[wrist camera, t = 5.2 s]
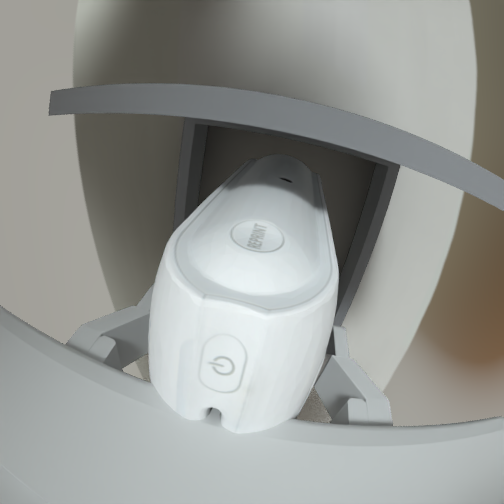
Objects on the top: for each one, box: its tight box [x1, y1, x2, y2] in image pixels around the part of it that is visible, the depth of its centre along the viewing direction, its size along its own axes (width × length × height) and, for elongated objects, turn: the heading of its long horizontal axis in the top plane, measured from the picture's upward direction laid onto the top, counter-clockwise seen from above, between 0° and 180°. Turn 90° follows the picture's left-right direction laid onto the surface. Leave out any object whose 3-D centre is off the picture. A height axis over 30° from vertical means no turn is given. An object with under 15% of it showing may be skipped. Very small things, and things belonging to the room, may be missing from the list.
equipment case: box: [49, 83, 504, 326], centre depth 16 cm, size 15×15×15 cm
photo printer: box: [148, 154, 339, 434], centre depth 11 cm, size 10×4×12 cm, turn 170°
